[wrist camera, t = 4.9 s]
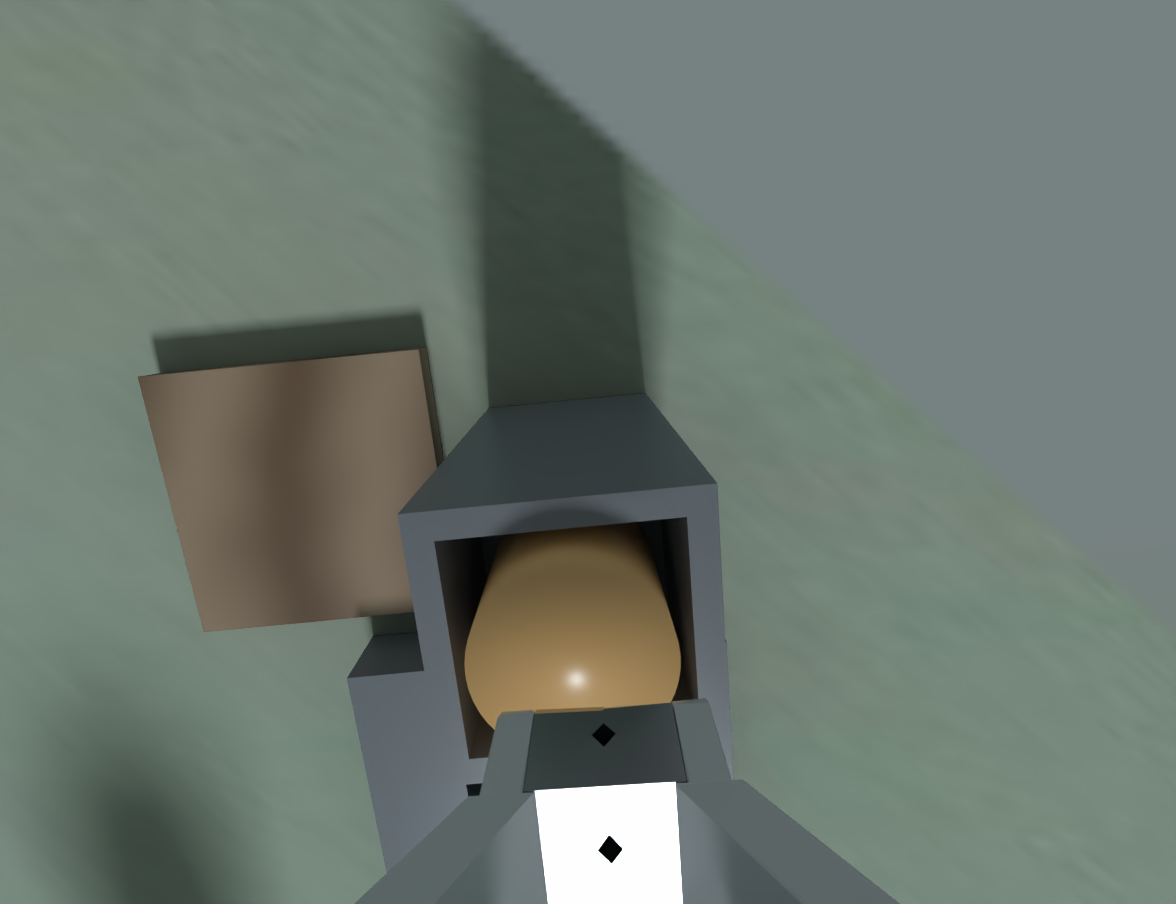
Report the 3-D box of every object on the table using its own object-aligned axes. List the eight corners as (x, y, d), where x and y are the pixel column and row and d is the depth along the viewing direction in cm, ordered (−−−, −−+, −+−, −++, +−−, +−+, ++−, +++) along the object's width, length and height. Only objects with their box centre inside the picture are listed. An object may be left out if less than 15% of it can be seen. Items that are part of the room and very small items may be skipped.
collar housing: (709, 604, 26) (726, 642, 23) (724, 880, 29) (741, 944, 26) (372, 636, 26) (347, 678, 23) (424, 908, 29) (407, 975, 26)
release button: (646, 485, 16) (673, 555, 11) (657, 631, 16) (686, 749, 12) (485, 500, 16) (450, 576, 11) (505, 645, 16) (479, 768, 12)
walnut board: (426, 347, 23) (418, 349, 22) (463, 593, 26) (458, 607, 24) (159, 373, 23) (137, 376, 22) (220, 617, 26) (203, 632, 24)
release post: (645, 393, 24) (716, 483, 12) (656, 540, 25) (731, 759, 13) (488, 408, 24) (397, 514, 12) (508, 555, 25) (444, 786, 13)
